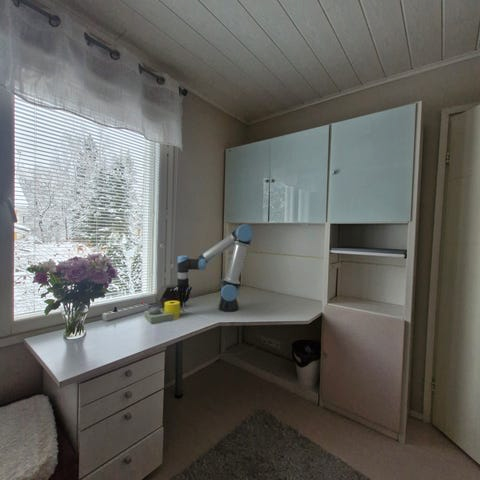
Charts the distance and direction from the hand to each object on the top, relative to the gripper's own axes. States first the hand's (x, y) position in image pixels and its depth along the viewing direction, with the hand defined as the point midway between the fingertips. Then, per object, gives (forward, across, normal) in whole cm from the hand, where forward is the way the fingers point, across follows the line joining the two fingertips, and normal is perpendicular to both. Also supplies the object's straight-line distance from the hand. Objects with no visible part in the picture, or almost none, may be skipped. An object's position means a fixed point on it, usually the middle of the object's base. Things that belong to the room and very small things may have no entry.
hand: (182, 311), depth 178 cm
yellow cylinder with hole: (+2, +8, +1) cm, 8 cm away
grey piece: (+1, +17, +1) cm, 17 cm away
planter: (+2, +4, -15) cm, 15 cm away
